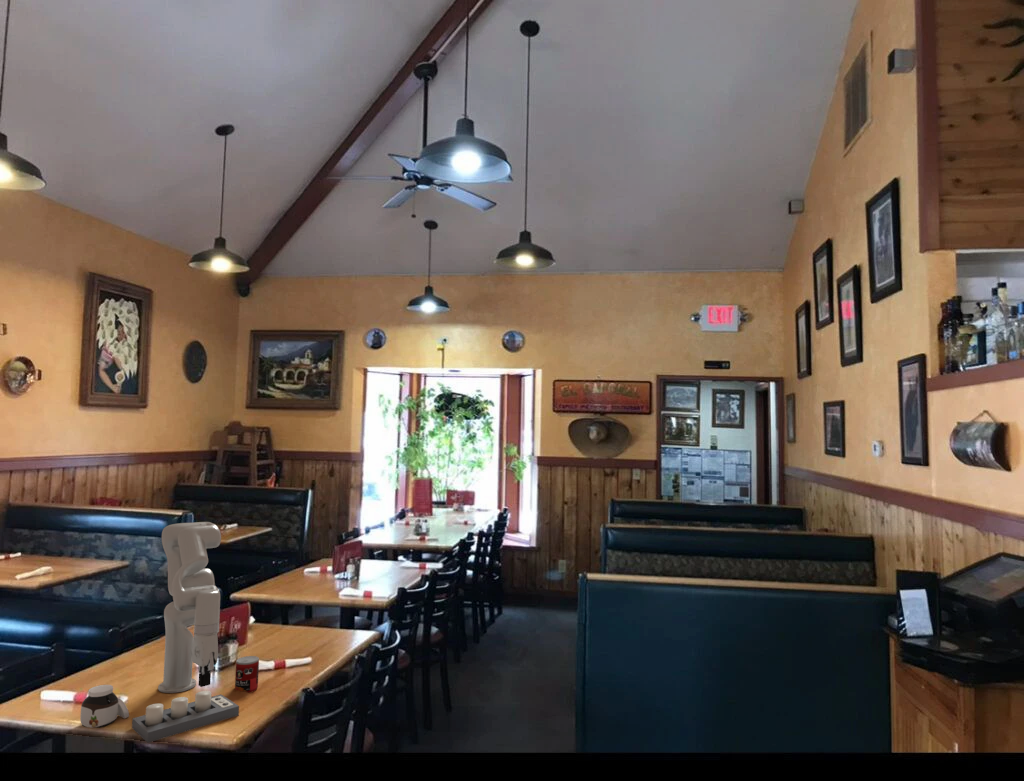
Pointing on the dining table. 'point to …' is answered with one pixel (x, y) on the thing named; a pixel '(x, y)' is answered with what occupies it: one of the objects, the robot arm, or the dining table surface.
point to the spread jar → (102, 707)
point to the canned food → (247, 674)
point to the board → (186, 719)
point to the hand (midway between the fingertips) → (204, 685)
